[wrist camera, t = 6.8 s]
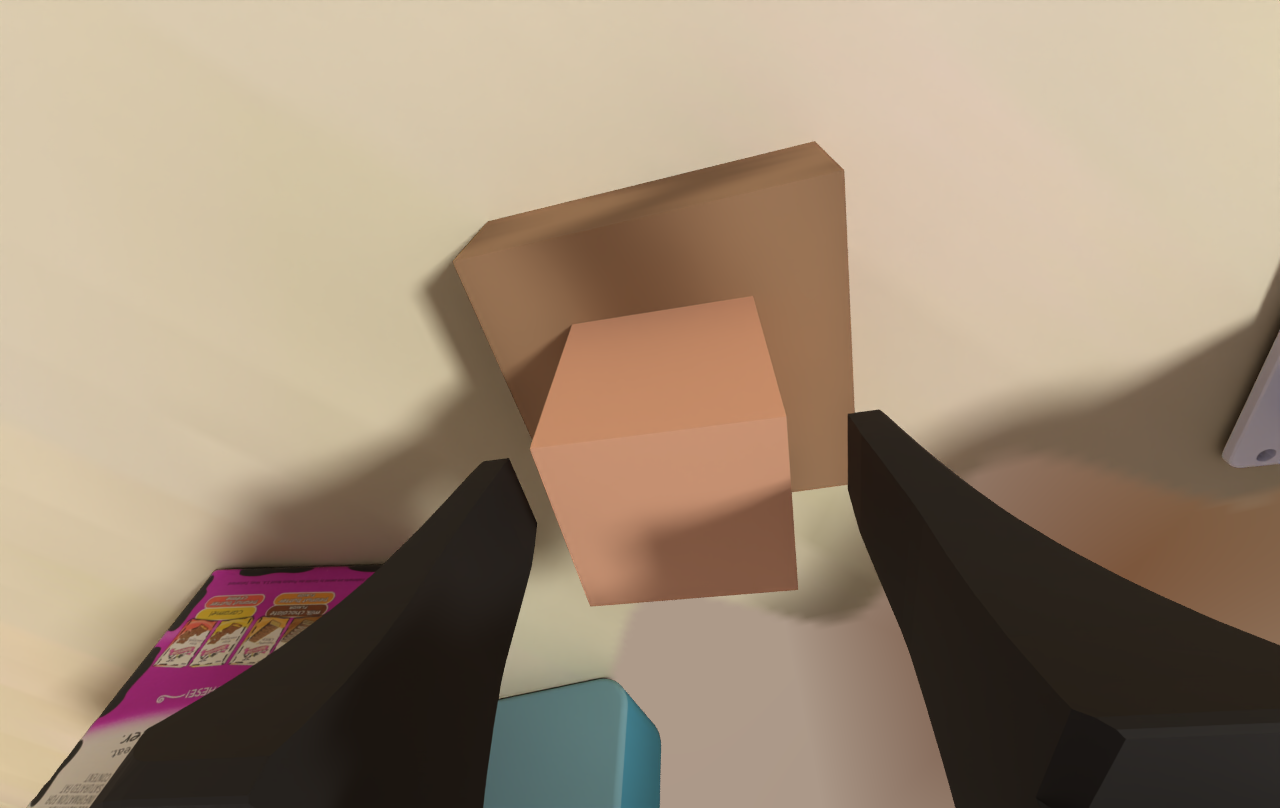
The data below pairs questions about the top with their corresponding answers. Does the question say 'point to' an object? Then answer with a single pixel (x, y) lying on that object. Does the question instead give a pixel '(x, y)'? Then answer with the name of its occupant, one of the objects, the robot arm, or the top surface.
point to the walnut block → (687, 282)
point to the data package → (573, 750)
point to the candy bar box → (199, 662)
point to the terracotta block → (670, 456)
